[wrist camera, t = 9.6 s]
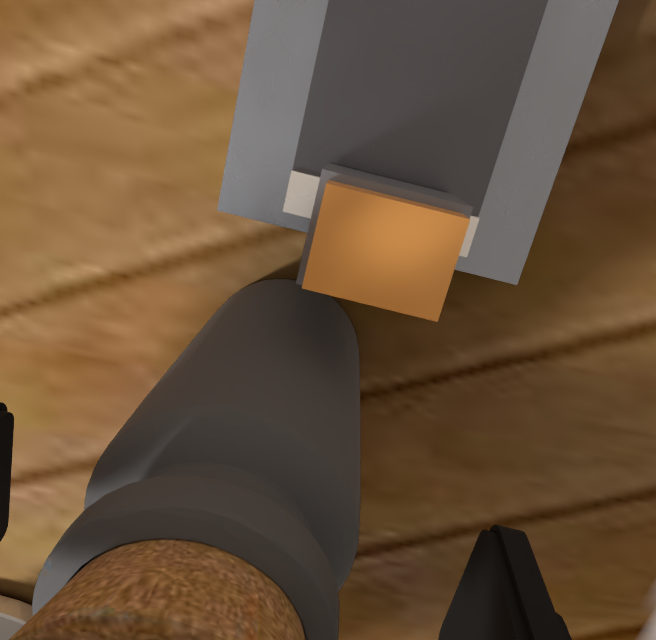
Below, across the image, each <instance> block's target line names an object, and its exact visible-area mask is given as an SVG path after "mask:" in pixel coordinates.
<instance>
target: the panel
mask: <svg viewBox="0 0 656 640" xmlns="http://www.w3.org/2000/svg"><path fill="white" fill-rule="evenodd" d="M618 2H619V0H255V1H254V7H253V13H252V18H251V24H250V30H249V35H248V41H247V46H246V52H245V58H244V63H243V69H242V75H241V80H240V86H239V91H238V97H237V103H236V108H235V114H234V119H233V125H232V131H231V136H230V142H229V148H228V153H227V159H226V164H225V170H224V176H223V181H222V187H221V193H220V198H219V204H218V209H217V210H218V211H222V212H226V213H230V214H234V215H238V216H242V217H246V218H250V219H254V220H258V221H262V222H266V223H270V224H274V225H278V226H282V227H286V228H290V229H294V230H298V231H302V232H306V233H308V228H309V224H310V219H311V215H312V211H313V206H314V202H315V198H316V193H317V189H318V185H319V180H320V176H321V172H322V169H323V168H324V167H325V166H326V165H327V164H328V163H331V164H335V165H339V166H343V167H347V168H351V169H355V170H359V171H363V172H367V173H371V174H374V175H378V176H382V177H386V178H390V179H394V180H398V181H402V182H406V183H410V184H414V185H418V186H422V187H426V188H430V189H434V190H438V191H442V192H446V193H450V194H452V195H454V196H456V197H457V198H459V199H461V200H462V201H464V202H466V203H467V204H469V205H471V206H472V207H473V210H472V213H471V216H470V222H469V225H468V229H467V232H466V235H465V238H464V241H463V244H462V247H461V250H460V254H459V257H458V260H457V263H456V266H455V269H454V270H458V271H462V272H466V273H470V274H474V275H478V276H482V277H486V278H490V279H494V280H498V281H502V282H506V283H510V284H514V285H517V284H518V281H519V278H520V275H521V273H522V270H523V267H524V264H525V262H526V259H527V256H528V253H529V250H530V248H531V245H532V242H533V239H534V236H535V234H536V231H537V228H538V225H539V222H540V220H541V217H542V214H543V211H544V208H545V206H546V203H547V200H548V197H549V194H550V192H551V189H552V186H553V183H554V180H555V178H556V175H557V172H558V169H559V167H560V164H561V161H562V158H563V155H564V153H565V150H566V147H567V144H568V141H569V139H570V136H571V133H572V130H573V127H574V125H575V122H576V119H577V116H578V113H579V111H580V108H581V105H582V102H583V99H584V97H585V94H586V91H587V88H588V85H589V83H590V80H591V77H592V74H593V72H594V69H595V66H596V63H597V60H598V58H599V55H600V52H601V49H602V46H603V44H604V41H605V38H606V35H607V32H608V30H609V27H610V24H611V21H612V18H613V16H614V13H615V10H616V7H617V4H618Z"/></svg>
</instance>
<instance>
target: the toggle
mask: <svg viewBox="0 0 656 640" xmlns="http://www.w3.org/2000/svg"><path fill="white" fill-rule="evenodd" d="M472 210H473V207H472V206H471V205H469V204H467V203H466V202H464V201H462V200H461V199H459V198H457V197H456V196H454V195H452V194H450V193H446V192H442V191H438V190H434V189H430V188H426V187H422V186H418V185H414V184H410V183H406V182H402V181H398V180H394V179H390V178H386V177H382V176H378V175H374V174H371V173H367V172H363V171H359V170H355V169H351V168H347V167H343V166H339V165H335V164H331V163H328V164H327V165H326V166H325V167H324V168H323V169H322V172H321V176H320V180H319V185H318V189H317V193H316V198H315V202H314V206H313V211H312V215H311V219H310V224H309V228H308V233H307V237H306V241H305V246H304V250H303V254H302V259H301V263H300V267H299V272H298V276H297V280H296V284H299V285H302V289H306V290H310V291H314V292H318V293H322V294H326V295H330V296H334V297H339V298H343V299H347V300H351V301H355V302H359V303H363V304H367V305H371V306H375V307H379V308H383V309H387V310H391V311H395V312H399V313H403V314H407V315H411V316H416V317H420V318H424V319H428V320H432V321H436V322H438V319H439V316H440V313H441V310H442V307H443V304H444V301H445V297H446V294H447V291H448V288H449V285H450V282H451V279H452V276H453V272H454V269H455V266H456V263H457V260H458V257H459V254H460V250H461V247H462V244H463V241H464V238H465V235H466V232H467V229H468V225H469V222H470V216H471V213H472Z"/></svg>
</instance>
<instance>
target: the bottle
mask: <svg viewBox="0 0 656 640" xmlns="http://www.w3.org/2000/svg"><path fill="white" fill-rule="evenodd" d="M359 521H360V365H359V348H358V341H357V337H356V333H355V330H354V327H353V325H352V323H351V321H350V319H349V317H348V315H347V314H346V312H345V311H344V310H343V309H342V307H341V306H340V305H339V304H338V303H337V302H336V301H335V300H334V299H333V298H331V297H330V296H329V295H326V294H322V293H318V292H314V291H310V290H306V289H302V285H299V284H296V280H290V279H271V280H264V281H260V282H257V283H254V284H252V285H249V286H247V287H245V288H243V289H241V290H239V291H238V292H237V293H235V294H234V295H232V296H231V297H230V298H229V299H228V300H227V301H226V302H225V303H224V304H223V305H222V306H221V307H220V308H219V309H218V310H217V311H216V313H215V314H214V315H213V316H212V317H211V319H210V320H209V321H208V322H207V323H206V325H205V326H204V327H203V328H202V329H201V331H200V332H199V333H198V334H197V336H196V337H195V338H194V339H193V340H192V342H191V343H190V344H189V345H188V347H187V348H186V349H185V350H184V351H183V353H182V354H181V355H180V356H179V357H178V359H177V360H176V361H175V362H174V364H173V365H172V366H171V367H170V368H169V370H168V371H167V372H166V373H165V374H164V376H163V377H162V378H161V379H160V381H159V382H158V383H157V384H156V385H155V387H154V388H153V389H152V390H151V392H150V393H149V394H148V395H147V396H146V398H145V399H144V400H143V401H142V403H141V404H140V405H139V407H138V408H137V409H136V410H135V412H134V413H133V414H132V415H131V417H130V418H129V419H128V421H127V422H126V423H125V424H124V426H123V427H122V428H121V430H120V431H119V432H118V433H117V435H116V436H115V437H114V439H113V440H112V441H111V442H110V444H109V445H108V447H107V448H106V450H105V451H104V453H103V454H102V456H101V457H100V459H99V461H98V463H97V464H96V466H95V468H94V470H93V473H92V476H91V478H90V481H89V484H88V487H87V490H86V497H85V506H84V511H83V512H82V514H81V515H80V516H79V517H78V518H77V519H76V520H75V521H74V522H73V523H72V524H71V526H70V527H69V528H68V529H67V530H66V532H65V533H64V534H63V536H62V537H61V539H60V540H59V542H58V543H57V545H56V546H55V547H54V549H53V550H52V552H51V553H50V555H49V556H48V558H47V560H46V562H45V564H44V566H43V568H42V570H41V572H40V574H39V576H38V580H37V583H36V586H35V589H34V595H33V602H32V612H33V617H32V618H31V619H30V620H29V621H28V622H27V623H25V624H24V625H23V626H22V627H21V628H20V629H19V630H18V631H17V632H16V633H15V634H14V635H13V636H12V637H11V638H10V639H9V640H338V633H339V596H338V592H339V590H340V589H341V588H342V586H343V584H344V583H345V581H346V579H347V577H348V576H349V573H350V571H351V568H352V565H353V562H354V559H355V556H356V552H357V546H358V541H359Z"/></svg>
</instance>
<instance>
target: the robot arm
mask: <svg viewBox="0 0 656 640" xmlns="http://www.w3.org/2000/svg"><path fill="white" fill-rule="evenodd" d="M13 429H14V416H13V414H12V413H10V412H7V407H6V405H5V404H4V403H1V402H0V541H1V540H2V538H3V536H4V535H5V532H6V530H7V527H8V520H9V502H10V483H11V465H12V447H13ZM32 617H33V612H32V606H31V605H29V604H27V603H24V602H22V601H20V600H16V599H12V598H9V597H5V596H1V595H0V640H9V639H10V638H11V637H12V636H13V635H14V634H15V633H16V632H17V631H18V630H19V629H20V628H21V627H22V626H23V625H24V624H25V623H27V622H28V621H29V620H30V619H31V618H32ZM439 640H572V639H571V637H570V634H569V632H568V629H567V626H566V624H565V622H564V620H563V618H562V617H561V616H560V615H559V614H558V613H556V612H555V610H554V607H553V605H552V602H551V599H550V597H549V594H548V591H547V589H546V586H545V583H544V581H543V578H542V575H541V573H540V570H539V567H538V565H537V562H536V559H535V557H534V554H533V551H532V549H531V546H530V543H529V541H528V538H527V536H526V534H525V533H524V532H523V531H520V530H516V529H512V528H508V527H503V526H499V525H493V526H492V527H491V529H490V530H489V531H488V530H482V531H481V533H480V534H479V537H478V539H477V542H476V544H475V546H474V549H473V551H472V554H471V556H470V559H469V561H468V564H467V566H466V568H465V571H464V573H463V576H462V578H461V581H460V583H459V585H458V588H457V590H456V593H455V595H454V598H453V600H452V603H451V605H450V607H449V610H448V612H447V615H446V617H445V620H444V622H443V624H442V627H441V630H440V634H439Z"/></svg>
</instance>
